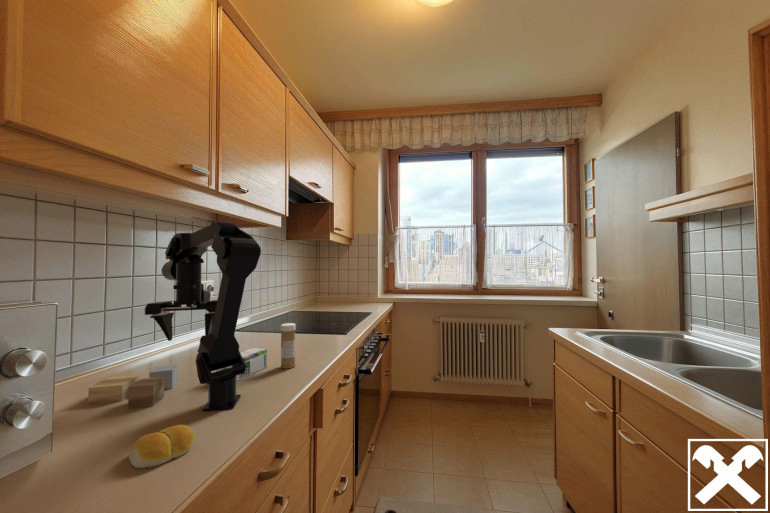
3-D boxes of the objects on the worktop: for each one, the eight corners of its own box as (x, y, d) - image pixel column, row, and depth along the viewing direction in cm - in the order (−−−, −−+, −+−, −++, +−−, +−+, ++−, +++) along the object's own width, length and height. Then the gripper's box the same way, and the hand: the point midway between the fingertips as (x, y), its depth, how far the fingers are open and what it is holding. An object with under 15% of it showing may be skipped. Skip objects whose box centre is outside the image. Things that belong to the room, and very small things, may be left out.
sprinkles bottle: (282, 364, 99) (282, 322, 100) (297, 364, 100) (296, 322, 100) (279, 369, 95) (279, 325, 95) (294, 368, 95) (294, 325, 95)
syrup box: (267, 367, 97) (231, 384, 83) (252, 365, 99) (214, 382, 85) (267, 349, 97) (231, 363, 83) (252, 347, 99) (214, 361, 85)
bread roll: (202, 448, 54) (202, 425, 54) (140, 477, 47) (140, 450, 47) (182, 433, 59) (182, 412, 59) (123, 457, 52) (123, 433, 52)
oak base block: (122, 401, 74) (122, 385, 74) (88, 404, 72) (88, 387, 73) (139, 390, 81) (139, 375, 81) (108, 392, 79) (108, 377, 79)
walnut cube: (153, 406, 71) (153, 384, 71) (128, 408, 70) (128, 386, 70) (164, 397, 76) (164, 377, 76) (141, 399, 75) (141, 378, 75)
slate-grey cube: (172, 389, 81) (172, 369, 81) (149, 392, 79) (149, 372, 79) (177, 382, 85) (177, 364, 86) (155, 385, 84) (155, 366, 84)
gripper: (236, 278, 92) (236, 331, 91) (167, 280, 89) (167, 334, 88) (221, 280, 81) (221, 340, 80) (143, 282, 78) (143, 344, 77)
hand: (189, 339), depth 82 cm, fingers open, 9 cm apart
